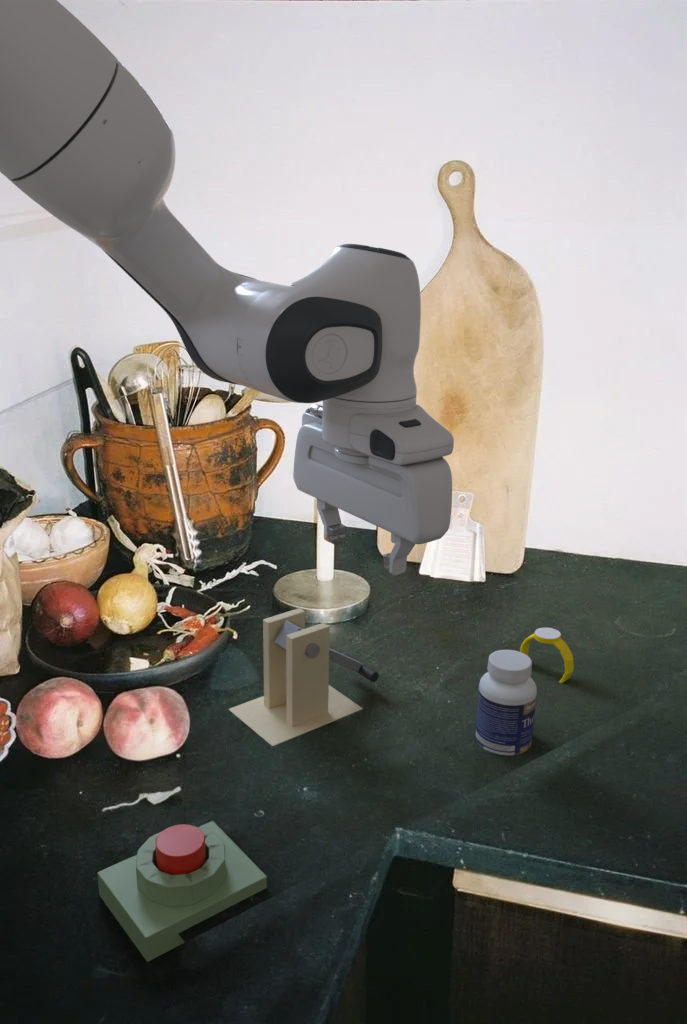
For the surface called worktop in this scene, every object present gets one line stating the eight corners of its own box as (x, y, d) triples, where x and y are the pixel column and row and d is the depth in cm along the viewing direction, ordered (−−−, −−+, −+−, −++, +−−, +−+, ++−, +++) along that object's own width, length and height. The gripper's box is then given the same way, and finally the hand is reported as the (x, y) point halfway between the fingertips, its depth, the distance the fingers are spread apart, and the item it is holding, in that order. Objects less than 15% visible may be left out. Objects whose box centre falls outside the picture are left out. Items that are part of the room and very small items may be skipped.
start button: (171, 883, 67) (169, 863, 67) (148, 855, 70) (146, 836, 69) (214, 862, 70) (213, 843, 69) (190, 836, 72) (189, 817, 72)
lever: (342, 669, 100) (353, 649, 100) (372, 689, 96) (383, 668, 97) (266, 636, 92) (277, 614, 92) (295, 656, 88) (307, 633, 88)
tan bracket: (316, 685, 100) (317, 594, 97) (363, 718, 95) (366, 622, 91) (228, 719, 94) (225, 622, 90) (272, 757, 88) (271, 655, 84)
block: (147, 962, 65) (144, 917, 64) (99, 895, 71) (95, 852, 70) (267, 899, 71) (267, 856, 70) (213, 842, 77) (212, 801, 76)
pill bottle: (529, 769, 87) (538, 677, 84) (471, 760, 88) (478, 669, 85) (532, 737, 92) (541, 649, 89) (477, 729, 93) (484, 642, 90)
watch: (575, 687, 101) (580, 638, 99) (561, 696, 99) (567, 647, 97) (527, 667, 105) (532, 619, 103) (513, 676, 103) (518, 628, 101)
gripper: (279, 403, 95) (278, 531, 99) (415, 452, 80) (406, 599, 84) (328, 396, 98) (325, 519, 103) (467, 441, 83) (456, 583, 88)
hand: (363, 556), depth 94 cm, fingers open, 8 cm apart
